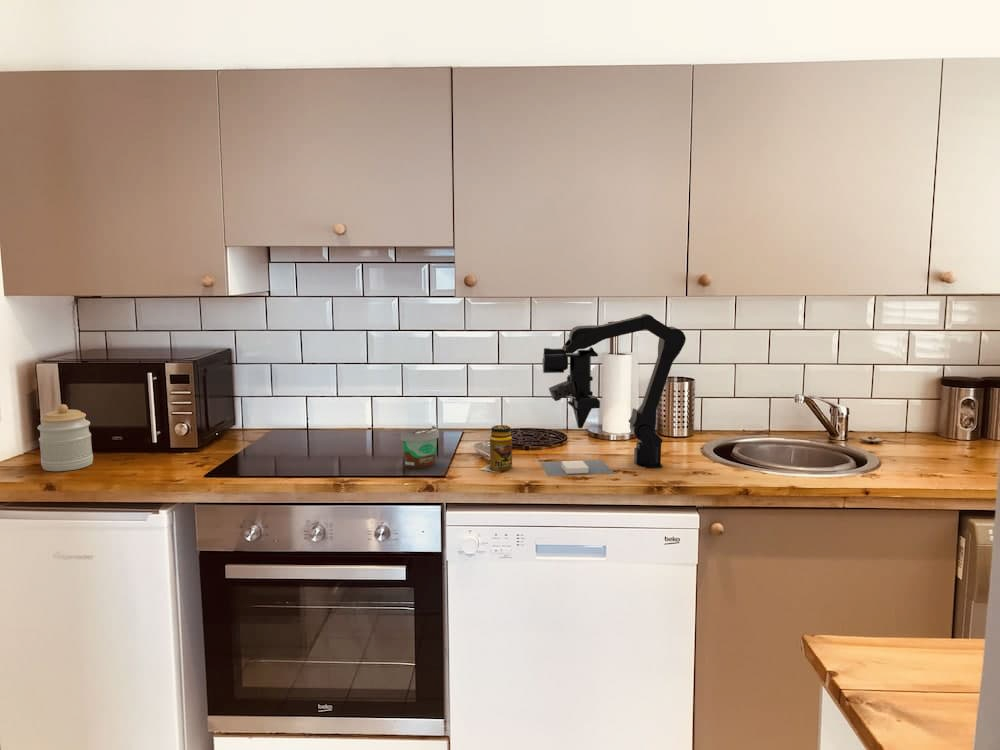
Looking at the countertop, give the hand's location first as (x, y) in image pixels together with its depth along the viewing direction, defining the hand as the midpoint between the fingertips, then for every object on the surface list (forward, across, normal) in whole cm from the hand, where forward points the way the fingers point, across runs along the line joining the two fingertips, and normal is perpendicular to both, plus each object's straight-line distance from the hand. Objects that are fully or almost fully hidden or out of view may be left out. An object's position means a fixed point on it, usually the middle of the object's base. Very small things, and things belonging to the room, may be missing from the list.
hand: (580, 427), depth 220 cm
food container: (+11, -8, -43) cm, 45 cm away
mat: (+11, +4, -2) cm, 12 cm away
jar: (+10, -24, -142) cm, 144 cm away
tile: (+9, +3, -3) cm, 10 cm away
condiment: (+11, -1, -23) cm, 25 cm away
